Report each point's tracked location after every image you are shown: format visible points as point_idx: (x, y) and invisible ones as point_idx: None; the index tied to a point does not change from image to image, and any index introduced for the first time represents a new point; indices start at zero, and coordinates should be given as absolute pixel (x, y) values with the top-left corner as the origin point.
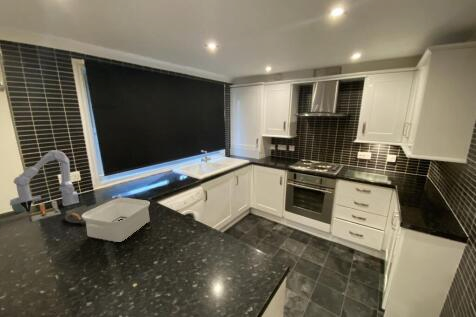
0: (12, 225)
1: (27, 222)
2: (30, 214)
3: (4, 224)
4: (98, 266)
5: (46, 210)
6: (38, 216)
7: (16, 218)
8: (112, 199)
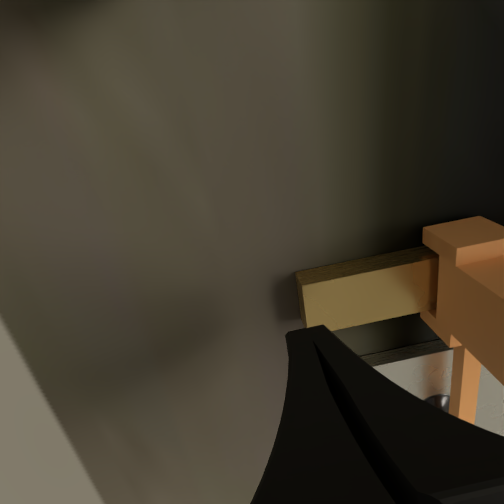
0: (160, 478)
1: None
2: (307, 321)
3: (54, 415)
4: None
5: None
6: None
7: (130, 285)
8: None
